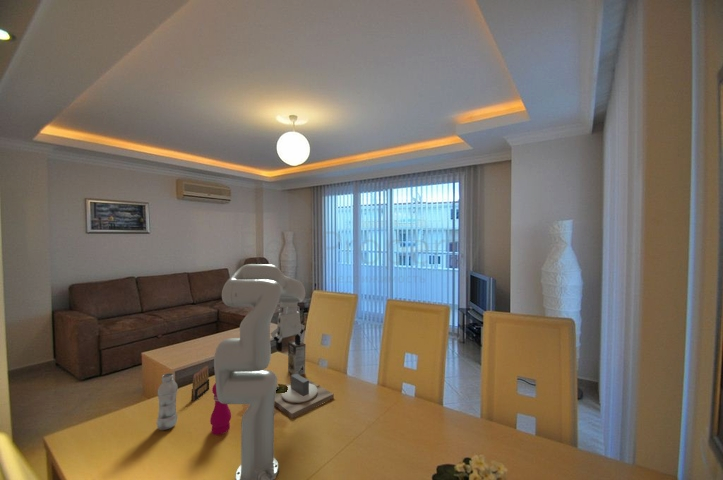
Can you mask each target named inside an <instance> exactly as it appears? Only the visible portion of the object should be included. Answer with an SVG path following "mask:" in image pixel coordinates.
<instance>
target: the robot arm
mask: <svg viewBox="0 0 723 480" xmlns="http://www.w3.org/2000/svg"><path fill="white" fill-rule="evenodd" d="M305 298H306V288H305V286H304V284H303V282H302V281H300V280H298V279H296V278H292V277H289V276H286V275H285V274H284V272H282V271H281V270H280V268H279V267H278V266H276V265H274V264H271V263H270V264H269V263H267V264H266V263H265V264H262V263H260V264H259V263H257V264H256V263H248V264H244V265H242V266H241V267H239V268H238V269H237V270H236V271H235V272H234V273H233V274H232V275H231V276H230V277H229V278H228V279H227V280H226V282H225V284H224V285H223V288H222V291H221V299H222V302H223V304H224V305H226V306H227V307H229V308H231V307H232V308H252V309H251V310H250V311H249V312H248V313H247V314H245V317H244V318H243V319H242V321H241V322H240V324H239V337H230V338H225V339H223V340H221V341H220V343H219V344H217V347H216V350H215V352H214V357H213V358H214V359H213V368H214V369H213V370H214V379H215V383H216V392H217V398H218V400H219V402H221V403H223V404H227V405H248V407H247V409H246V410H245V411H244V413H243V415H242V417H241V423H240V424H241V425H240V426H241V428H240V429H241V432H240V434H241V436H240V438H241V439H240V440H241V441H240V449H241V450H240V465H239V466H238V468H237V469H236V472H235V477H234V479H235V480H275V479H276V478H277V475H278V473H279V469H280V468H279V466H280V465H279V462H278V460H277V459H276V457H274V456H275V455H274V451H275V449H274V447H275V446H274V445H275V443H274V442H275V440H274V439H275V438H274V437H275V433H274V432H275V423H274V422H275V405H274V403H275V395H276V390H277V389H278V376H277V375H276V373H274V372H273V371H272V370H267V368H268V367H269V365H270V362H271V359H272V353H271V352H272V349H271V348H272V347H271V337H272V339H273V340H274V341H275V348H276V350H277V351H278V352H281V351H283V349H282V348H283V342H282V339H285V338H288V337H292V336H294V341H295V344H297V345H300V341H301V337H302V334H303V333H304V332H305V331H304V330H305V327H306V325H305V324H302V323H301V317H300V316H301V314H300V312H299V311H298V303H302V302H303V301H304V300H305ZM278 304H279V305H278ZM278 306H279V309H277V307H278ZM276 310H277V312H278V313H279V314H278V317H277V325H276V328H275V329H274V330H273V331H271V322H272V318H273V316H274V315H275V311H276Z"/></svg>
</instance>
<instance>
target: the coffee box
mask: <svg viewBox="0 0 723 480" xmlns="http://www.w3.org/2000/svg"><path fill="white" fill-rule="evenodd" d="M287 345H288V347H287V354H288V357H287V362H288V363H287V364H288V365H287V371H288V372H289V373H290V374H291V375H294V374H296V373H297V374H298V375H300V376H302V375H305V374H306V347H307V346H306V344H305V343H304V342H302V341H301V340H300V345H297V344H295V340H292V341H291V340H290V341H287Z"/></svg>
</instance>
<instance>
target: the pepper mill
mask: <svg viewBox="0 0 723 480" xmlns="http://www.w3.org/2000/svg"><path fill="white" fill-rule="evenodd" d="M211 391H212V392H211V393H212V394H213V400H214V408H213V410H212V413H211V415H210V421H209V422H210V425H211V434H212V435H215V436H216V435H217V436H218V435H219V436H220V435H223V434H225V433H227V432H229V430H230V427H231V425H230V421H231V419H232V413H231V409H230V407H229V406H228V405H229V404H223V403H221V402H219V400H218V398H217V392H216V382H215V383H214V384H213V386H212V390H211Z"/></svg>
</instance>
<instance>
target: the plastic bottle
mask: <svg viewBox="0 0 723 480" xmlns="http://www.w3.org/2000/svg"><path fill="white" fill-rule="evenodd" d="M174 378H175V377H174V373H173V372H168V373H166V374H163V375H162V376H161V382H162V383H161V384H160V385H159V387H158V388H157V398H158V413H157V414H158V416H157V418H156V419H157V421H156V427H157V429H158V430H159V431H166V430H169V429H172V428H173V427H174V426H175V425H176V424H177V422H178V413H177V408H176V407H177V405H176V404H177V402H176V401H177V395H178V388H179V385H178V383H177V382H176V381H175V380H174Z"/></svg>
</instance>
